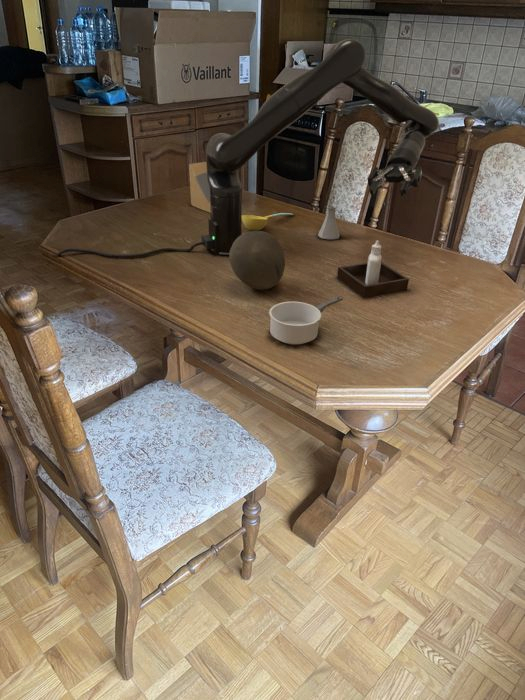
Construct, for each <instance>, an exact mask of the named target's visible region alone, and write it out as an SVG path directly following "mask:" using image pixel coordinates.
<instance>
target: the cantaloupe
mask: <svg viewBox="0 0 525 700" xmlns="http://www.w3.org/2000/svg"><path fill="white" fill-rule="evenodd" d="M228 256H229V264H230V267H231V270H232V271H233V273H234V275H235V277H236V278H238V280H240V281H241V282H242V283H243V284H244V285H246V286H247V287H250V288H252V289H255V290H259V291H264V290H269V289H272V288H273V287H275V286H276V285H278V284H279V282H280V281H281V280H282V277H283V275H284V271H285V268H286V257H285V252H284V249H283V247H282V244H281V243H280V241H279V240H278V239H277V238H276V237H275V236H273V235H272V234H270V233H268V232H267V231H263V230H258V231H252V230H249V231H246V232H244V233H242V235H240V236H239V237H238V238H237V239H236V240H235V241H234V243H233V245H232V247H231V249H230V253H229V255H228Z"/></svg>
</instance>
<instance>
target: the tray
mask: <svg viewBox="0 0 525 700" xmlns="http://www.w3.org/2000/svg"><path fill="white" fill-rule="evenodd" d="M367 265H368V262H362V263H356V264H350V265H344V266H343V265H342V266H338V267H337V275H336V279H337V280H339V281H340V282H341V283H342V284H344V285H345V286H347V288H349V289H351V290H352V291H354V293H356V294H357V295H359V296H360V297H361V298H362V299H368V298H375V297H379V296H385V295H390V294H396V293H400V292H401V293H403V292H406V291H408V287H409V282H410V279H409V278H408V277H407V276H405V275H404V274H402V273H400V272H398V271H397V270H395V269H393V268H392V267H390V266H389V265H387V264H386V263H384V262H382V261H381V267H380V273H379V280H378V283H377V284H371V285H366V284H365V279H366V272H367Z"/></svg>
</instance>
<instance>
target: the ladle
mask: <svg viewBox="0 0 525 700" xmlns="http://www.w3.org/2000/svg"><path fill="white" fill-rule="evenodd" d="M278 216H294V213H292V212H291V213H289V212H279V213H274V214H270V215H266V216H259V215H253V214H242V225H243V226H244V227H245V228H246V229H248V230H249V231H262V229H264V228H265V227H266V226H267V224H268V220H269V219H270V218H273V217H278Z"/></svg>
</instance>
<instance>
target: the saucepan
mask: <svg viewBox="0 0 525 700" xmlns="http://www.w3.org/2000/svg"><path fill="white" fill-rule="evenodd" d="M343 300H344V297H343V296H337V297H335V298H332V299H329V300H327V301H324V302H323V303H320V304H318V305H316V306H314V305H312V304H309V303H307V302H302V301H284V302H283V301H282V302H280V303H276V304H274V305H273V306H271V308H270V309H269V310H268V315H269V317H270V327H269V332H270V335H271V336H272V337H273V338H275V340H278V341H280V342H282V343H284V344H287V345H302V344H303V345H304V344H306V343H309V342H311V341H314V340H315V339H316V338H317V336H318V334H319V323H320V320H321V318H322V313H323V312H324V310H326V308H327V307H329V306H332V305H335V304H338V303H339V302H341V301H343Z"/></svg>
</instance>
